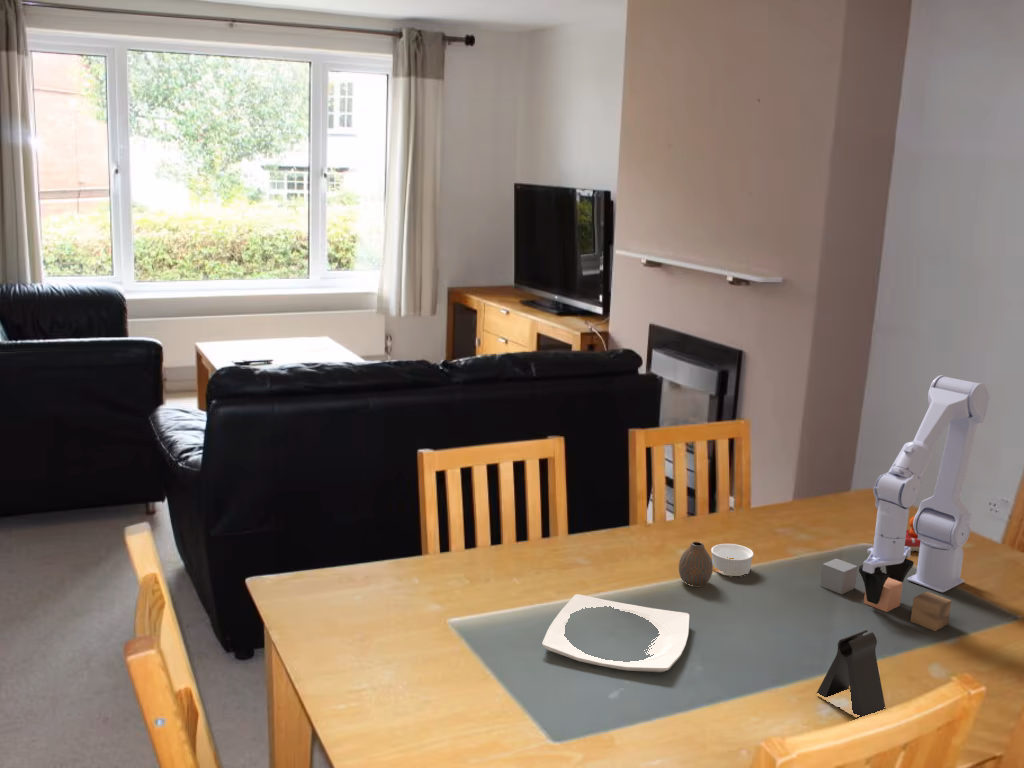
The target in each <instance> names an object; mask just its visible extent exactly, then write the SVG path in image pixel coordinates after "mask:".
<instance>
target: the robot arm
mask: <svg viewBox="0 0 1024 768" xmlns="http://www.w3.org/2000/svg"><path fill="white" fill-rule="evenodd" d="M927 393H928V394H927V402H928V409H927V411H926V413H925V415H924V417H923V419H922V421H921V423H920V425H919V428H918V430H917V432H916V434H915V437H914V438H913V440H912V441H908V442H905V443H904V444H903V446H902V448H901V449H900V451H899V453H898V455H897V456H896V458H895V460H894V461H893V463H892V465H891V466H890V467H889V470H888V472H885V473H882V474H880V475H879V476H878V478H877V479H876V481H875V485H874V486H873V496H874V498H875V504H874V506H875V508H876V509H877V512H876V520H875V521H876V523H875V529H874V530H875V531H874V538H873V547H869V548H867V553H868V557H867V558H866V559H865V560H864V561H863V563H862V564H861V565H859V567H858V572H859V574H860V576H861V579H862V581H863V583H864V584H863V585H864V589H865V590H866V597H867V601H868V602H871V603H873V604H878V603H879V601H880V597H881V593H882V589H883V586H884V584H885V582H886V580H887V578H888V577H889V578H891V579H894V580H897V581H900V582H902V583H903V584H904V581H905V578H906V576H907V575H908V573H909V572H910V570H911V569H912V568H913V566H914V561H913V560H911V559H909V558H911V554H912V553H911V552H912V551H911V548H910V547H907V546H905V540H906V531H907V530H908V523H909V522H908V521H909V515H910V508H911V506H913V505H914V504H915V502H916V500H917V498H918V495H919V489H920V486H921V483H922V482H921V481H920V480H921V478H922V476H923V475H924V473H925V472H926V470H927V468H928V466H929V465H930V463H931V462H932V460H933V453H932V451H931V449H932V448H933V446H934V445H935V444H936V442H937V441H938V440H939V438H940V436H941V435H942V434H943V432H944V431H945V429H946V428H947V427H948V432H947V435H946V440H945V444H944V448H943V449H944V450H943V452H942V456H941V457H942V458H941V462H940V467H939V471H938V473H937V474H938V475H937V480H936V484H935V488H934V493H933V495H932V496H930V497H928V498H925V499H923V500H921V501H920V504H919V507H918V510H917V512H916V513H915V515H914V516H915V517H914V516H913V517H914V521H913V528H914V531H915V533H916V534H917V535H918V540H921V542H920V550H919V552H918V558H917V567H916V572H915V574H912V575H911V576H909V577H907V581H909V582H912V583H915V584H916V585H917V584H918V585H920V586H922V587H926V588H928V589H932V590H933V591H937V592H939V593H945V592H947V591H949V590H951V589H953V588H955V587H957V586H959V585H961V584H964V583H965V579H963V578H961V574H962V568H963V559H964V549H963V546H964V545H965V544H966V543H967V541H968V539H969V537H970V533H971V518H972V517H971V515H972V514H971V512H970V510H969V509H968V508H967V507H966V506H965V504H963V502H962V500H961V496H962V491H963V488H964V483H965V479H966V474H967V470H968V467H969V462H970V457H971V453H972V448H973V445H974V444H973V443H974V440H975V436H976V432H977V428H978V424H981V423H984V422H985V417H986V415H987V410H988V407H989V403H990V396H991V394H990V393H989V390H988V388H987V385H986V384H985V383H982V382H974V381H969V380H964V379H958V378H953V377H948V376H945V375H943V374H941V375H940V374H939V375H938V376H936V377H935V378H934V379H933V380H932V382H931V384H930V386H929V390H928V392H927ZM882 567H885V572H886V573H885V572H883V571H882V569H881V568H882ZM865 590H864V591H865Z"/></svg>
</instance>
